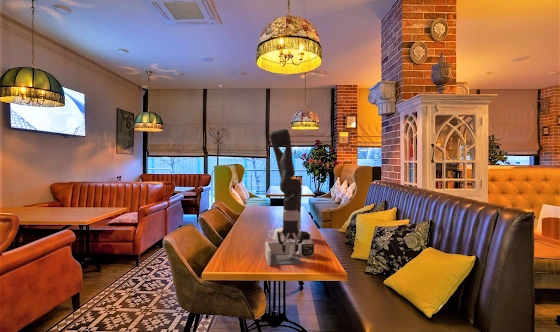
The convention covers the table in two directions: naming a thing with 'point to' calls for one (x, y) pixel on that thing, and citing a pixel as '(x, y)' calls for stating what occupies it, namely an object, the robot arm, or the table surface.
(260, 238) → the table surface
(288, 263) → the slate mat
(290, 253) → the bracket
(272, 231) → the teapot
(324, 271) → the table surface
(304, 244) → the medicine bottle
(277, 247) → the corner walls
